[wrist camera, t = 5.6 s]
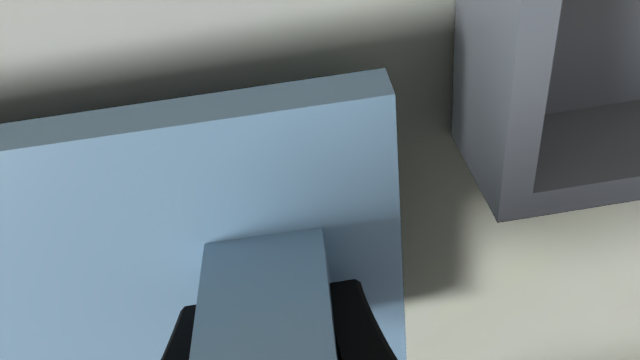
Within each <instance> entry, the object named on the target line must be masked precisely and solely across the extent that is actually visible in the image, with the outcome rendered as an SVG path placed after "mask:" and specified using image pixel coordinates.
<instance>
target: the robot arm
mask: <svg viewBox="0 0 640 360" xmlns="http://www.w3.org/2000/svg"><path fill="white" fill-rule="evenodd" d="M330 293H331V303H332V313H333V322H334V331H335V337H336V343H337V349H338V354H339V360H398V359H397V358H396V356H395V354H394V352H393V351H392V349H391V347H390V346H389V344H388V342H387V340H386V338H385V337H384V335H383V333H382V331H381V329H380V327H379V325H378V323H377V321H376V319H375V317H374V315H373V313H372V311H371V308H370V306H369V304H368V301H367V299H366V296H365V294H364V291H363V288H362V285H361V282H360V281H358V280H356V279H351V280H345V281H339V282H332V283H330ZM195 311H196V305H189V306H184V307H183V309H182V310H181V311H180V314H179V316H178V319H177V322H176V324H175V327H174V329H173V332H172V334H171V337H170V339H169V342H168V344H167V346H166V349H165V351H164V354H163V356H162V358H161V360H189V356H190V349H191V341H192V333H193V326H194V318H195Z"/></svg>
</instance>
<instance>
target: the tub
mask: <svg viewBox="0 0 640 360" xmlns="http://www.w3.org/2000/svg"><path fill="white" fill-rule="evenodd" d="M452 138H453V140H454V142H455V144H456V146H457V147H458V149H459V151H460V153H461V155H462V157H463V159H464V161H465V162H466V164H467V166H468V168H469V170H470V172H471V174H472V176H473V177H474V179H475V181H476V183H477V185H478V187H479V189H480V191H481V192H482V194H483V196H484V198H485V200H486V202H487V204H488V206H489V208H490V209H491V211H492V213H493V215H494V217H495V219H496V221H497V223H499V222H506V221H512V220H518V219H524V218H531V217H537V216H543V215H549V214H555V213H562V212H568V211H574V210H580V209H587V208H593V207H599V206H605V205H612V204H618V203H624V202H630V201H636V200H640V0H456V10H455V42H454V73H453V105H452Z"/></svg>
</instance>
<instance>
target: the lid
mask: <svg viewBox="0 0 640 360" xmlns="http://www.w3.org/2000/svg"><path fill="white" fill-rule="evenodd" d="M351 279H356V280H358V281H360V282H361V285H362V288H363V291H364V294H365V296H366V299H367V301H368V304H369V306H370V308H371V311H372V313H373V315H374V317H375V319H376V321H377V323H378V325H379V327H380V329H381V331H382V333H383V335H384V337H385V338H386V340H387V342H388V344H389V346H390V347H391V349H392V351H393V352H394V354H395V356H396V358H397V359H398V360H406V336H405V313H404V289H403V266H402V242H401V219H400V195H399V172H398V148H397V125H396V101H395V92H394V90H393V87H392V84H391V82H390V79H389V76H388V74H387V71H386V68H381V69H374V70H367V71H360V72H353V73H346V74H339V75H332V76H326V77H319V78H312V79H305V80H298V81H291V82H284V83H277V84H271V85H264V86H257V87H250V88H243V89H236V90H229V91H223V92H216V93H209V94H202V95H195V96H188V97H181V98H174V99H168V100H161V101H154V102H147V103H140V104H133V105H126V106H119V107H113V108H106V109H99V110H92V111H85V112H78V113H71V114H64V115H58V116H51V117H44V118H37V119H30V120H23V121H16V122H9V123H3V124H0V360H161V358H162V356H163V354H164V351H165V349H166V346H167V344H168V342H169V339H170V337H171V334H172V332H173V329H174V327H175V324H176V322H177V319H178V316H179V314H180V311H181V310H182V309H183V307H184V306H189V305H196V311H195V318H194V326H193V333H192V341H191V349H190V356H189V360H339V354H338V349H337V343H336V337H335V331H334V322H333V313H332V303H331V293H330V283H332V282H339V281H345V280H351Z"/></svg>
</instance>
